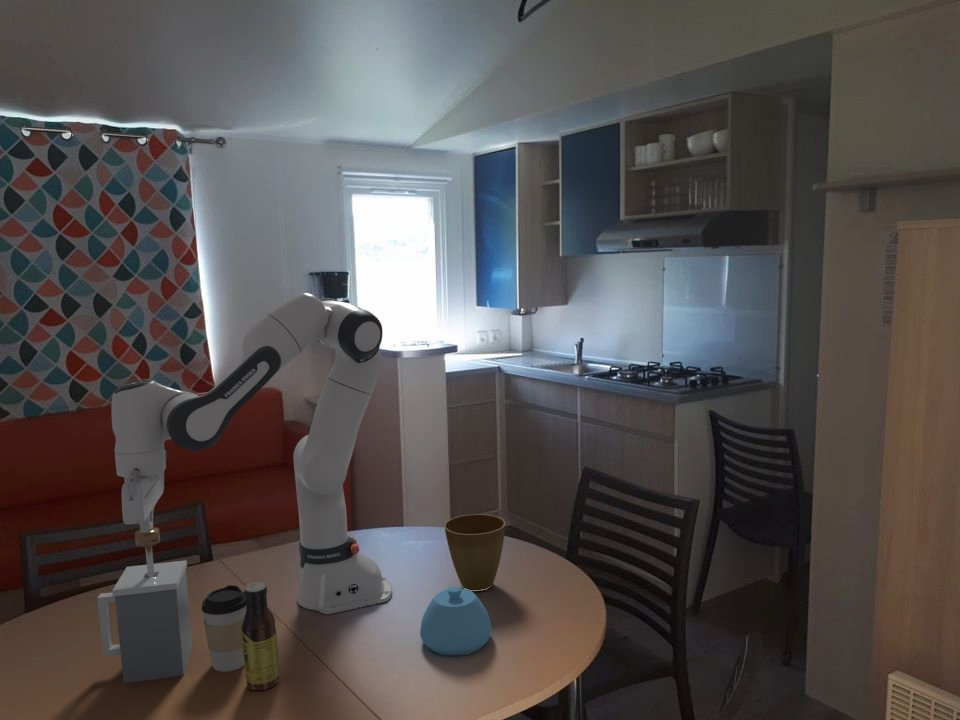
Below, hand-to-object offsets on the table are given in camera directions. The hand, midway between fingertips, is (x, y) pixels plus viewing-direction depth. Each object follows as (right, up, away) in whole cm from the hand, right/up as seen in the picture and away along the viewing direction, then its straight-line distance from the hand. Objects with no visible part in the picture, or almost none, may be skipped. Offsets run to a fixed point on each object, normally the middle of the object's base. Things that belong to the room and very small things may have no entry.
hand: (147, 531), depth 147 cm
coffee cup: (+15, -28, +4) cm, 32 cm away
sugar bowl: (+61, -26, +10) cm, 67 cm away
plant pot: (+65, -22, +36) cm, 78 cm away
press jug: (-1, -28, +3) cm, 28 cm away
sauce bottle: (+24, -29, -4) cm, 38 cm away
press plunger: (+1, -21, +3) cm, 21 cm away
